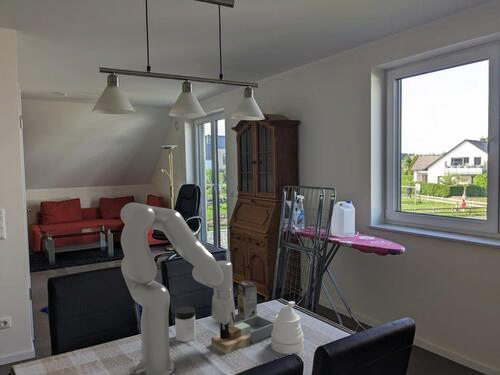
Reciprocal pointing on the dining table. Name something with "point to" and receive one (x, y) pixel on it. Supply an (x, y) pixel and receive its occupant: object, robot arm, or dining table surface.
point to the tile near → (234, 333)
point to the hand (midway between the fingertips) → (224, 337)
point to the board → (230, 343)
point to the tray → (258, 328)
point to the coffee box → (247, 299)
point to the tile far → (243, 328)
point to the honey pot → (287, 331)
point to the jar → (185, 324)
